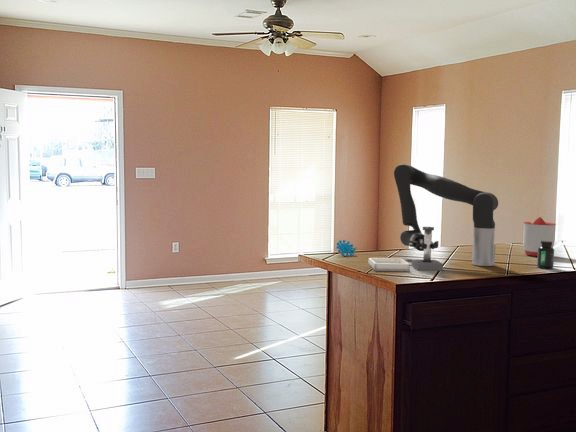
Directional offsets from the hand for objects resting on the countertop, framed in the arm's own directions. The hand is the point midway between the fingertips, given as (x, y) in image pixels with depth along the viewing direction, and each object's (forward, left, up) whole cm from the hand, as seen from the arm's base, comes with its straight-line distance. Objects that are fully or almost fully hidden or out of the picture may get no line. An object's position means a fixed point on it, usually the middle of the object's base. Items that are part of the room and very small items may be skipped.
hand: (429, 246), depth 267 cm
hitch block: (0, -3, -10) cm, 10 cm away
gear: (+31, -37, -10) cm, 50 cm away
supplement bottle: (-56, -10, -10) cm, 58 cm away
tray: (+17, -3, -10) cm, 20 cm away
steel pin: (0, -3, -10) cm, 10 cm away
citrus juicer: (-70, -50, -10) cm, 87 cm away
